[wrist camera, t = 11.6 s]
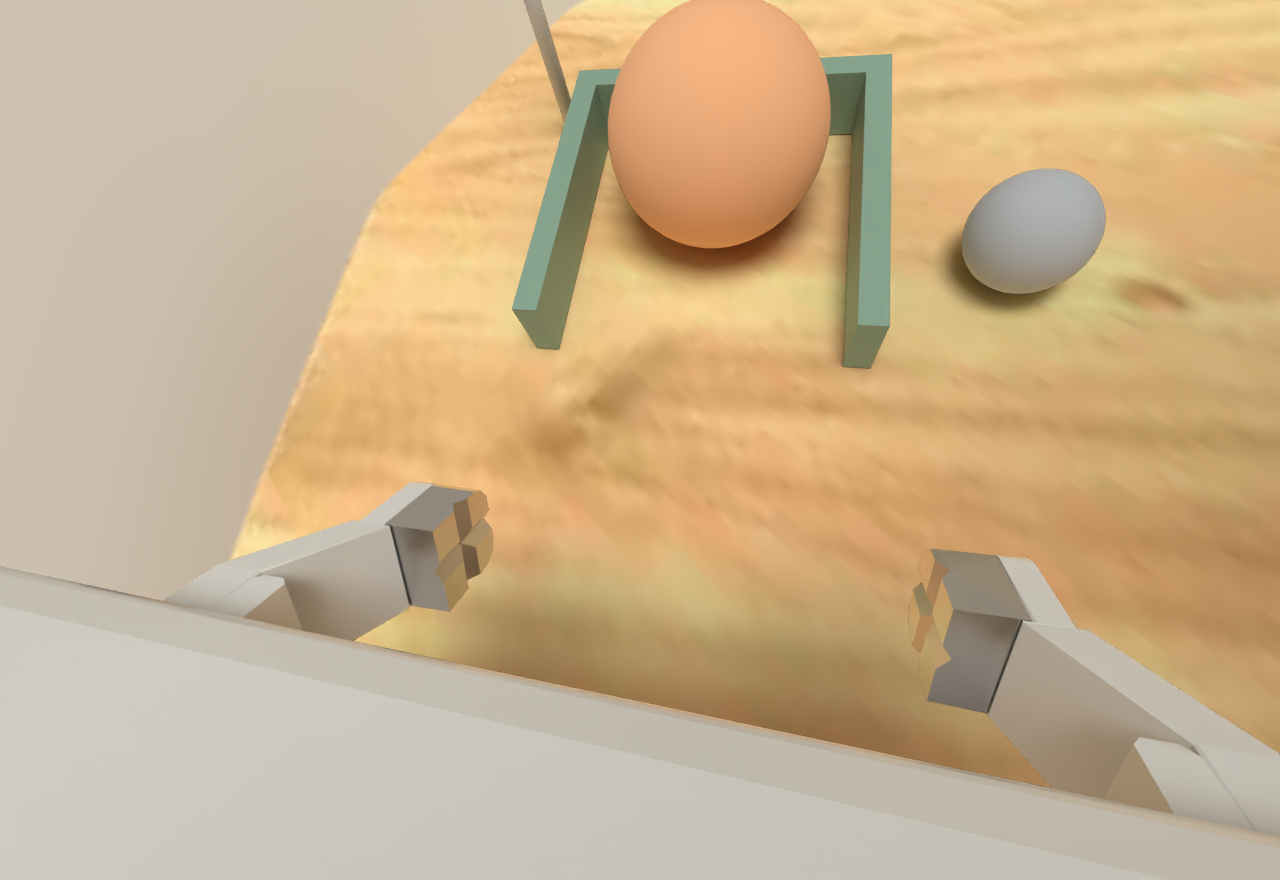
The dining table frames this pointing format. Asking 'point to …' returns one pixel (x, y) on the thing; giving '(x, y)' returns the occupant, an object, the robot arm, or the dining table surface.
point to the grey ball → (1033, 231)
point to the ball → (719, 121)
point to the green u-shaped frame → (579, 164)
